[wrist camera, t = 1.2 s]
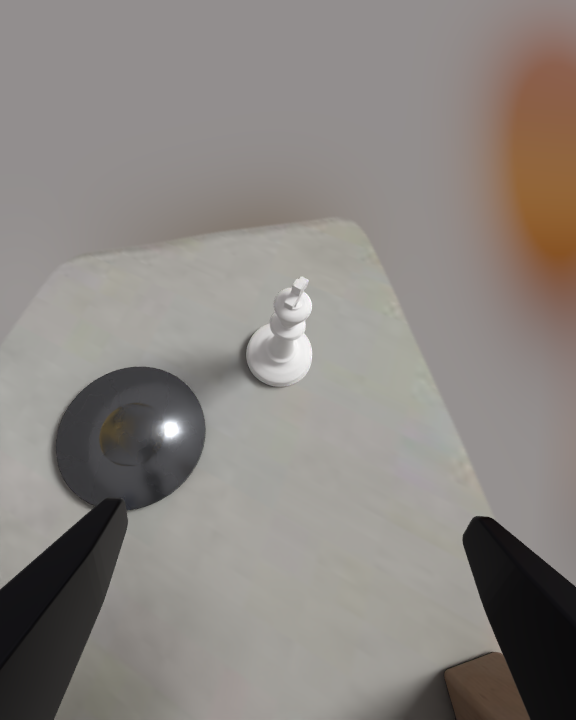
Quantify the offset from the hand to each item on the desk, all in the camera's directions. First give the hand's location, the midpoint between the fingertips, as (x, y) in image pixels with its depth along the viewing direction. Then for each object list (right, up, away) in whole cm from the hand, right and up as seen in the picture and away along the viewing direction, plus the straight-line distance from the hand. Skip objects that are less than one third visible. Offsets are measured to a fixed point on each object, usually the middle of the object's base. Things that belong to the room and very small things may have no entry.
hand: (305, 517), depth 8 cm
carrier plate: (-11, -1, +13) cm, 17 cm away
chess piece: (-1, +4, +16) cm, 17 cm away
